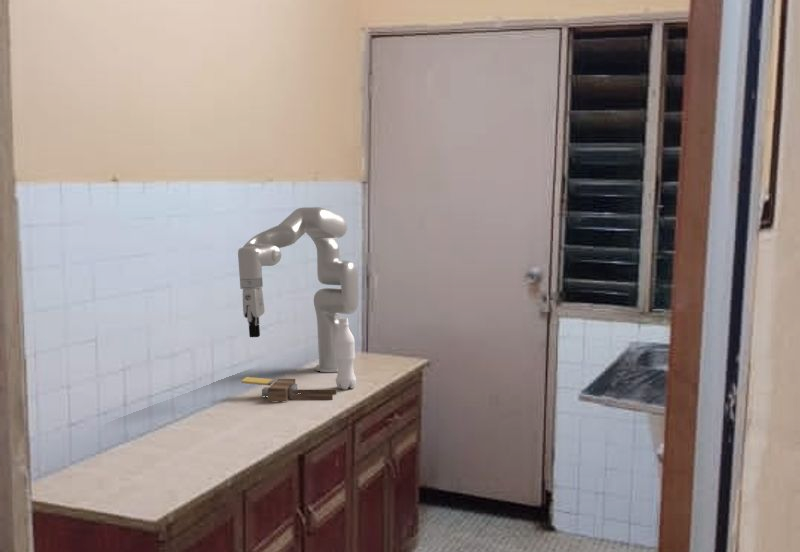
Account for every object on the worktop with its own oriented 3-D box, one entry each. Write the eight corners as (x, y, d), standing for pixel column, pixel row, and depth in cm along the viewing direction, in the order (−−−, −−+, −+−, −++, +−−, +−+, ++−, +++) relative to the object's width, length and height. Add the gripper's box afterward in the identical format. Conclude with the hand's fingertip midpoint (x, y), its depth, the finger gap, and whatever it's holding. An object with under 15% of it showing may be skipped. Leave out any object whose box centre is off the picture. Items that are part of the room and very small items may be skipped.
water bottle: (357, 385, 304) (355, 316, 301) (354, 390, 297) (352, 319, 294) (338, 385, 305) (335, 316, 302) (334, 390, 298) (331, 319, 295)
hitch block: (278, 391, 298) (278, 378, 298) (338, 391, 296) (337, 378, 296) (268, 402, 285) (267, 388, 284) (330, 402, 282) (330, 388, 282)
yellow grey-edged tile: (246, 378, 295) (246, 375, 295) (275, 381, 294) (275, 378, 294) (241, 383, 289) (241, 380, 289) (270, 385, 288) (270, 382, 288)
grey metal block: (260, 399, 289) (260, 387, 289) (266, 394, 295) (265, 383, 295) (292, 399, 288) (292, 387, 287) (297, 395, 293) (297, 383, 293)
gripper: (256, 286, 280) (259, 341, 283) (267, 279, 295) (271, 332, 297) (233, 287, 281) (237, 341, 283) (246, 280, 296) (250, 332, 298)
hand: (254, 336), depth 290 cm, fingers closed
